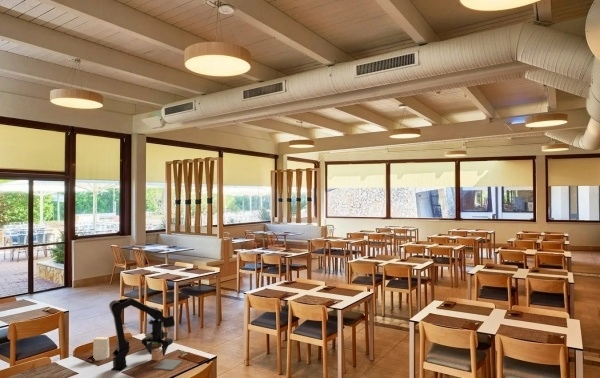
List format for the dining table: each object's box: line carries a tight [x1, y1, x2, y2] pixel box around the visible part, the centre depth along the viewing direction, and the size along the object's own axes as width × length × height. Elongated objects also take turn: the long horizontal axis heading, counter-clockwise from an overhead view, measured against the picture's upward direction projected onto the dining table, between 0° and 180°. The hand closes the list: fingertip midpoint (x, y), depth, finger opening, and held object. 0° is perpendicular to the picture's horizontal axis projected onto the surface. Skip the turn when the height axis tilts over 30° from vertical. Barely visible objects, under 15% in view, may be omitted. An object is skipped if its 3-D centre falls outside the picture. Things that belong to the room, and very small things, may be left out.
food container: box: [144, 329, 165, 350], centre depth 268 cm, size 12×6×10 cm, turn 112°
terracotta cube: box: [151, 348, 164, 362], centre depth 251 cm, size 5×5×5 cm
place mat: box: [153, 358, 184, 371], centre depth 241 cm, size 12×12×1 cm
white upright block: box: [92, 336, 110, 361], centre depth 254 cm, size 9×9×12 cm
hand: (157, 355), depth 251 cm, fingers open, 9 cm apart
